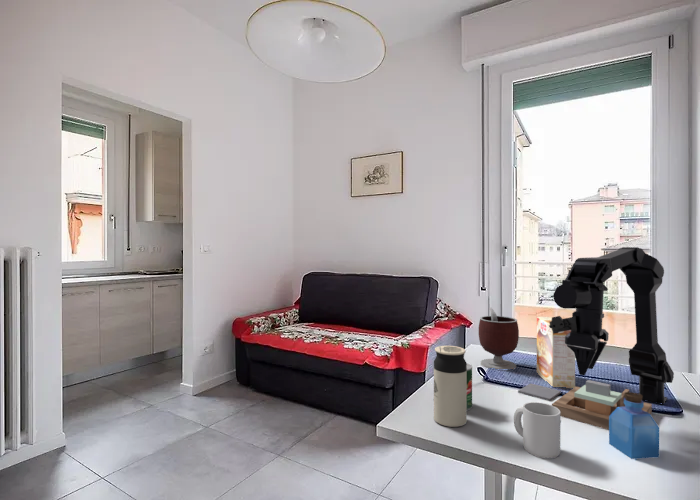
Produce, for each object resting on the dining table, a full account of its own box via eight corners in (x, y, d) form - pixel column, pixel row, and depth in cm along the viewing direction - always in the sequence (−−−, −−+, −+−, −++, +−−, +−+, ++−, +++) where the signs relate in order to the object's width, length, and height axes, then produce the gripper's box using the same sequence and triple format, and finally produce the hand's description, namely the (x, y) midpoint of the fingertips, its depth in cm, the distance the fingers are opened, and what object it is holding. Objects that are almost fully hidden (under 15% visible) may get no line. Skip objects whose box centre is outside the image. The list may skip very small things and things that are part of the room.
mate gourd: (525, 371, 139) (525, 314, 138) (485, 371, 139) (485, 314, 139) (508, 358, 154) (508, 307, 154) (472, 358, 154) (472, 307, 154)
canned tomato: (452, 397, 114) (452, 359, 114) (477, 405, 109) (477, 365, 109) (437, 405, 109) (437, 365, 109) (462, 413, 103) (462, 371, 103)
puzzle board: (575, 394, 116) (575, 377, 116) (651, 413, 103) (651, 394, 103) (551, 413, 103) (551, 394, 103) (635, 437, 90) (635, 415, 90)
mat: (530, 385, 124) (530, 383, 124) (561, 392, 118) (561, 390, 118) (518, 392, 118) (518, 390, 118) (549, 401, 112) (549, 398, 112)
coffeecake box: (535, 372, 137) (535, 316, 137) (557, 373, 136) (557, 317, 136) (551, 387, 122) (551, 324, 122) (576, 389, 121) (576, 325, 121)
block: (590, 412, 104) (590, 393, 104) (610, 418, 101) (610, 398, 101) (585, 417, 101) (585, 398, 101) (605, 423, 98) (605, 403, 98)
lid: (584, 388, 107) (584, 375, 107) (621, 397, 101) (621, 383, 101) (574, 396, 101) (574, 383, 101) (612, 406, 95) (612, 391, 95)
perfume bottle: (609, 444, 87) (609, 390, 87) (635, 442, 88) (635, 389, 88) (631, 458, 81) (631, 400, 81) (659, 457, 82) (659, 399, 82)
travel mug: (467, 416, 102) (467, 346, 101) (465, 430, 94) (465, 354, 94) (435, 412, 104) (435, 344, 104) (431, 425, 97) (431, 351, 96)
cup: (548, 463, 80) (549, 419, 80) (504, 442, 88) (504, 402, 88) (566, 452, 84) (567, 410, 84) (523, 434, 92) (523, 395, 92)
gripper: (562, 303, 110) (560, 359, 110) (543, 306, 96) (540, 370, 96) (610, 308, 103) (607, 368, 102) (596, 312, 89) (593, 382, 88)
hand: (586, 371), depth 98 cm, fingers open, 9 cm apart
